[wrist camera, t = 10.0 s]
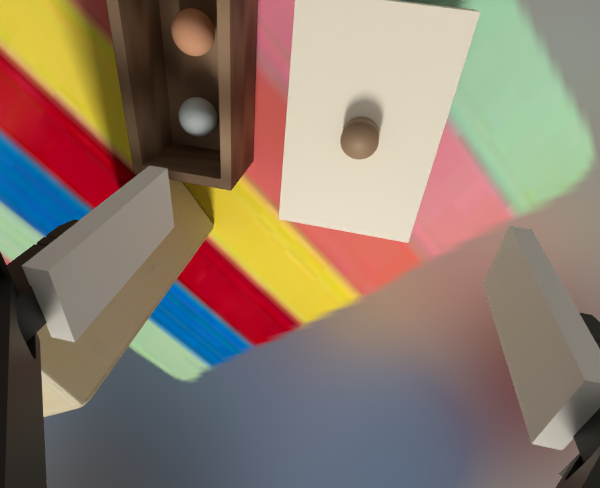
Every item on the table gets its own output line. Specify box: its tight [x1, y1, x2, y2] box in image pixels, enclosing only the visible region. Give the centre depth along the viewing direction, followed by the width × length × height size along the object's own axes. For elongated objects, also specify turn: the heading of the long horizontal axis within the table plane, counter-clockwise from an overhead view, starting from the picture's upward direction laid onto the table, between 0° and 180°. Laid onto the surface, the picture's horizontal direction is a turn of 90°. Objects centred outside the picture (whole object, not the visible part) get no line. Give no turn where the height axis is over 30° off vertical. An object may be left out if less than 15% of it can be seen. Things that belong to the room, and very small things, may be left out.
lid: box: [279, 0, 480, 243], centre depth 26 cm, size 15×10×4 cm, turn 175°
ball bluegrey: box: [179, 97, 217, 136], centre depth 31 cm, size 3×3×3 cm
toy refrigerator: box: [37, 179, 213, 417], centre depth 31 cm, size 8×7×21 cm
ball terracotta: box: [171, 8, 215, 56], centre depth 28 cm, size 3×3×3 cm
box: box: [106, 0, 258, 190], centre depth 29 cm, size 14×8×6 cm, turn 175°
